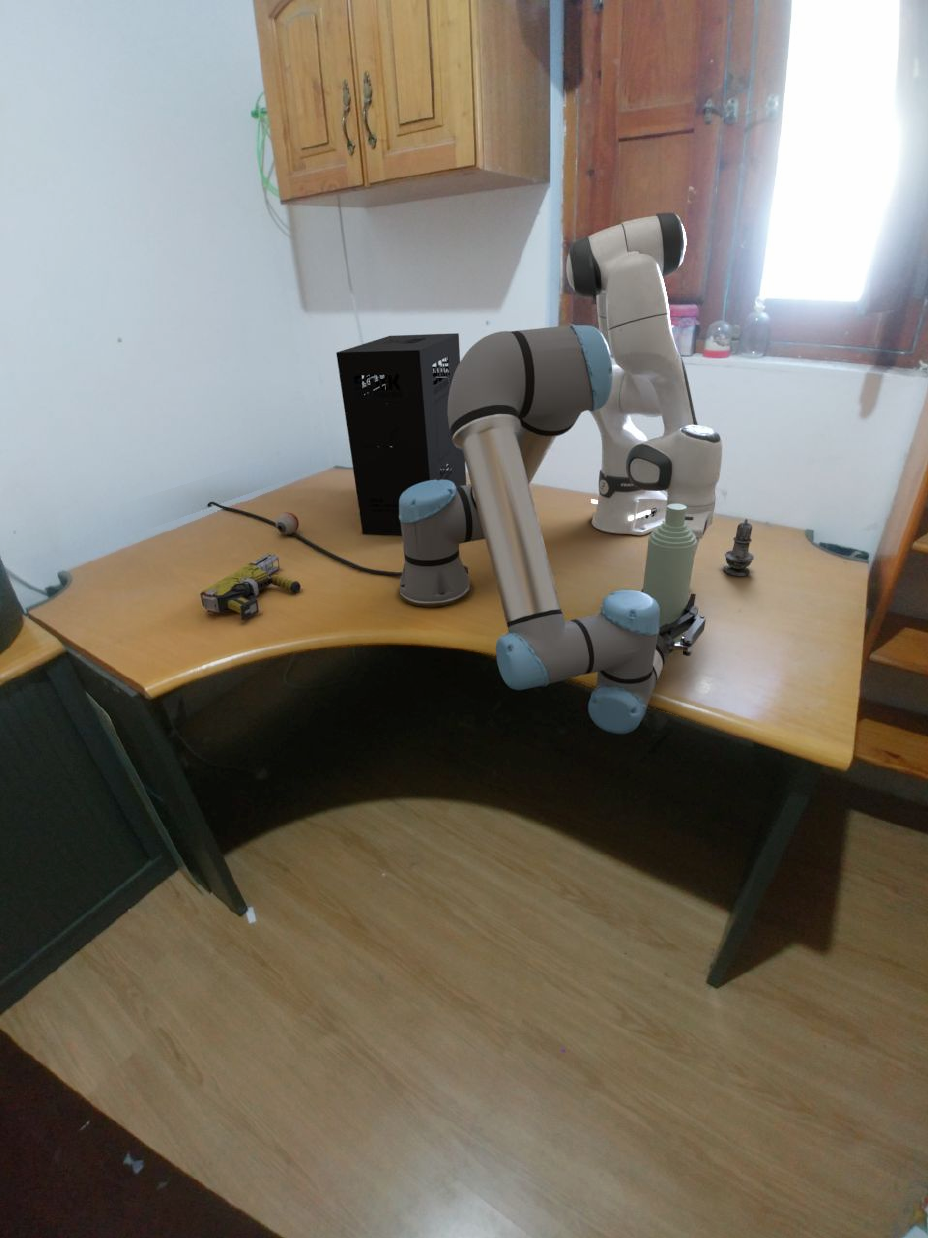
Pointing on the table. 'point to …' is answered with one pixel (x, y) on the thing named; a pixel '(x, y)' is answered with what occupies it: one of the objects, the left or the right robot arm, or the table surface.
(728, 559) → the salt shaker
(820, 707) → the table surface
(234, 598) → the toy gun
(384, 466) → the cardboard box
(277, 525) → the eyeball
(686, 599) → the bottle
